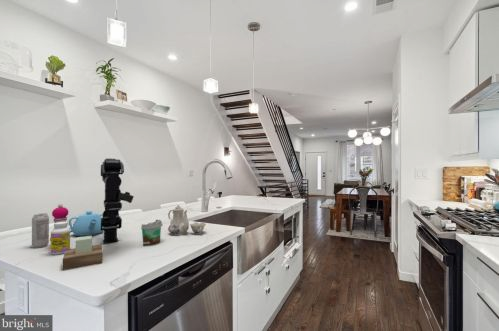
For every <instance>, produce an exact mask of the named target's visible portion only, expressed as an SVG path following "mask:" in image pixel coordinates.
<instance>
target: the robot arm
mask: <svg viewBox="0 0 499 331" xmlns="http://www.w3.org/2000/svg"><path fill="white" fill-rule="evenodd" d="M124 173H125V166H124V164H123V162H122V161H121V159H117V158H105V159H104V160H103V161H102V164H101V165H100V177H102V178H101V180H102V182H103V183H104V200H103V208H104V210H103V212H102V214H103V215H102V216H101V217H102V218H101V231H102V230H103V231H102V232H103V239H102V244H109V243H110V244H111V243H117V242H119V238H118V229H122V227H123V225H122V224H123V222H122V221H123V220H122V217H121V216H120V212H119V211H121V210H122V208H123V203H122V201H123V202H127V203H129V204H132V202H133V200H134V197H135V196H134V195H131V193H130V192H128V191H125V192H122V191H121V188H120V186H121V185H122V181H123V180H122V178H121V177H120V175H123V174H124Z"/></svg>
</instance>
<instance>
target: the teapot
mask: <svg viewBox="0 0 499 331" xmlns="http://www.w3.org/2000/svg"><path fill="white" fill-rule="evenodd" d="M102 216H103V213H100V214H99V213H97V212H95V213H94V212H93V211H92V210H89V211H88V210H87V211H85V213H84V214H80V215H79V216H73V217H70V218H69V220H68V226H69V228H70V234H71V233H72V234H74V235H75V236H78V237H85V236H92V235H95V236H96V235H99V234H100V233H102V232H104V230H102V231H101V218H102ZM72 220H75V221H74V222H73V224H72Z"/></svg>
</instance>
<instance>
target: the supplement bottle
mask: <svg viewBox="0 0 499 331" xmlns="http://www.w3.org/2000/svg"><path fill="white" fill-rule="evenodd" d="M68 226H69V221H66V222H57V223H55V222H54V223H53V229H52V230H51V231H50V237H51V241H50V254H51V255H53V256H58V255H64V254H65V252H66V250H67V249H71V233H70V231H71V229H70V227H68ZM54 227H55V228H54Z"/></svg>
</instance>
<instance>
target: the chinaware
mask: <svg viewBox="0 0 499 331" xmlns="http://www.w3.org/2000/svg"><path fill="white" fill-rule="evenodd" d="M171 212H172V219H171V215H170V214H171ZM187 214H188V210H185V208H182V206H180V204H177V206H176V207H175V208H172V209H171V210H169V211H168V214H167V216H168V217H167V218H168V219H169V221H170V224H169V226H168V228H167V230H168V232H169V233H170V235H171V236H174V237H175V236H178V237H179V236H183V235H186V234H187V231H188V230H189V227H190V228H191V230H192V232H194V235H201V234H202V232H203V231H204V230H205V226H206V225H207V224H206V223H205V222H193V223H190V224H189V222H190V221H189V218H188V216H187Z"/></svg>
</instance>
